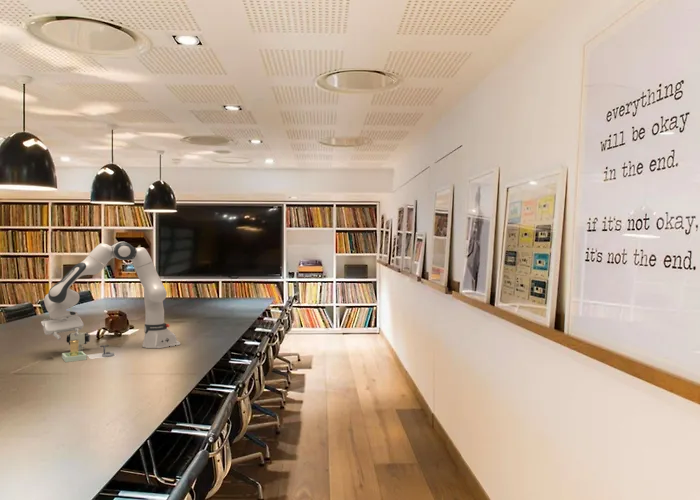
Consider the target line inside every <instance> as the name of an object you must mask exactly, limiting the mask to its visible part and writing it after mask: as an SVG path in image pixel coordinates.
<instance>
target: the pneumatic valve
mask: <svg viewBox="0 0 700 500" xmlns="http://www.w3.org/2000/svg"><path fill="white" fill-rule="evenodd" d="M74 334H75V332H70V333H69V334H68V335H66V343H68V345H69V346H70V340H79V350H78V351H83V350H84V348H85V347H84V346H83V345H86V344H88V343H90V341H91V334H90V333H89V332H86V331H85V332H80V330H78V334H79V335H78V336H75V335H74Z"/></svg>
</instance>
